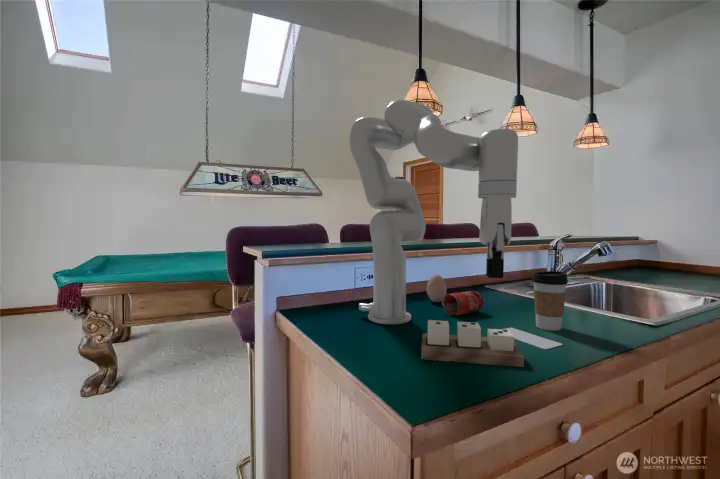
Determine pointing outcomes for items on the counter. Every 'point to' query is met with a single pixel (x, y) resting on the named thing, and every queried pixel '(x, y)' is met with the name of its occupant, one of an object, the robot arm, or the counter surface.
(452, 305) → the beverage can
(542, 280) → the coffee cup
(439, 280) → the egg
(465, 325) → the white die
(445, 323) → the white die
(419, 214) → the robot arm
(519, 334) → the smartphone
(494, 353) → the board
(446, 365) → the counter surface
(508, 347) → the white die
